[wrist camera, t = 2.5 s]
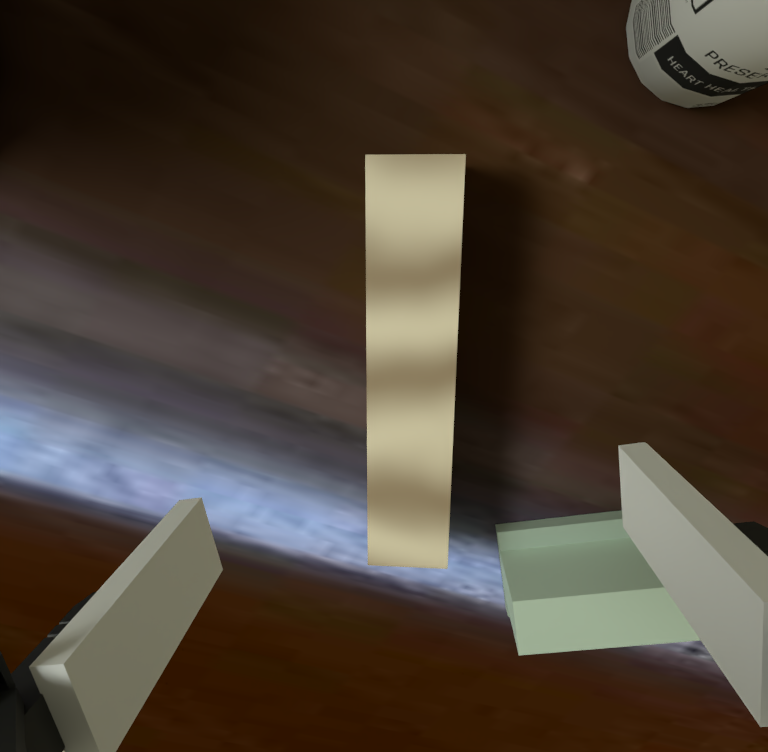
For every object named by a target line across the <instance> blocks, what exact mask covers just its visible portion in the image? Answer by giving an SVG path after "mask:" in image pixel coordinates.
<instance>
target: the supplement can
mask: <svg viewBox="0 0 768 752" xmlns="http://www.w3.org/2000/svg"><path fill="white" fill-rule="evenodd" d="M626 33H627V43H628V52H629V59H630V61H631V63H632V65H633V67H634V69H635V71H636V73H637V75H638V77H639V79H640V81H641V83H642V84H643V85H644V86H646V87H647V88H648V89H649V90H650V91H651V92H653V93H654V94H655V95H656V96H657V97H658V98H659V99H661V100H663V101H666V102H669V103H672V104H675V105H679V106H682V107H685V108H691V107H703V106H714V105H717V104H719V103H722V102H724V101H726V100H729V99H731V98H733V97H736V96H738V95H740V94H743V93H745V92H747V91H750V90H752V89H755V88H757V87H759V86H762V85H764V84H766V83H768V0H632V2H631V7H630V11H629V16H628V21H627V25H626Z"/></svg>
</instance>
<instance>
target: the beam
mask: <svg viewBox="0 0 768 752" xmlns="http://www.w3.org/2000/svg"><path fill="white" fill-rule="evenodd" d="M465 161H466V154H406V155H365V181H366V341H367V501H368V565H377V566H399V567H421V568H442V569H447V566H448V543H449V521H450V498H451V476H452V453H453V431H454V408H455V386H456V363H457V341H458V318H459V296H460V273H461V251H462V228H463V206H464V183H465Z"/></svg>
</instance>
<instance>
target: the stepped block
mask: <svg viewBox="0 0 768 752" xmlns="http://www.w3.org/2000/svg"><path fill="white" fill-rule="evenodd" d="M495 527H496V534H497V542H498V550H499V558H500V566H501V574H502V581H503V589H504V597H505V605H506V610H507V614H508V617H509V616H510V619H511V624H512V628H513V632H514V636H515V641H516V645H517V649H518V653H519V655H529V654H541V653H553V652H565V651H577V650H589V649H601V648H613V647H626V646H638V645H650V644H662V643H674V642H686V641H698V640H700V638H699V637H698V635H697V634H696V633H695V631H694V630H693V628H692V627H691V625H690V624H689V622H688V621H687V619H686V618H685V617H684V615H683V614H682V612H681V611H680V609H679V608H678V606H677V605H676V603H675V602H674V601H673V599H672V598H671V596H670V595H669V593H668V592H667V590H666V589H665V587H664V586H663V585H662V583H661V582H660V580H659V579H658V577H657V576H656V574H655V573H654V571H653V570H652V569H651V567H650V566H649V564H648V563H647V561H646V560H645V558H644V557H643V555H642V554H641V553H640V551H639V550H638V548H637V547H636V545H635V544H634V542H633V541H632V539H631V538H630V536H629V535H628V534H627V532H626V531H625V529H624V528H623V520H622V510H621V511H612V512H603V513H594V514H585V515H576V516H567V517H558V518H549V519H540V520H531V521H522V522H513V523H504V524H495Z"/></svg>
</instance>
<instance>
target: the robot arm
mask: <svg viewBox="0 0 768 752" xmlns="http://www.w3.org/2000/svg"><path fill="white" fill-rule="evenodd" d="M618 447H619V465H620V484H621V502H622V520H623V528H624V529H625V531H626V532H627V534H628V535H629V536H630V538H631V539H632V541H633V542H634V544H635V545H636V547H637V548H638V550H639V551H640V553H641V554H642V555H643V557H644V558H645V560H646V561H647V563H648V564H649V566H650V567H651V569H652V570H653V571H654V573H655V574H656V576H657V577H658V579H659V580H660V582H661V583H662V585H663V586H664V587H665V589H666V590H667V592H668V593H669V595H670V596H671V598H672V599H673V601H674V602H675V603H676V605H677V606H678V608H679V609H680V611H681V612H682V614H683V615H684V617H685V618H686V619H687V621H688V622H689V624H690V625H691V627H692V628H693V630H694V631H695V633H696V634H697V635H698V637H699V638H700V640H701V641H702V643H703V644H704V646H705V647H706V649H707V650H708V651H709V653H710V654H711V656H712V657H713V659H714V660H715V662H716V663H717V665H718V666H719V667H720V669H721V670H722V672H723V673H724V675H725V676H726V678H727V679H728V681H729V682H730V683H731V685H732V686H733V688H734V689H735V691H736V692H737V694H738V695H739V697H740V698H741V700H742V701H743V702H744V704H745V705H746V707H747V708H748V710H749V711H750V713H751V714H752V716H753V717H754V718H755V720H756V721H757V723H758V724H759V726H760V727H767V726H768V528H766V527H764V526H762V525H760V524H758V523H756V522H744V523H735V524H732V523H731V522H730V521H729V520H728V519H727V518H726V517H725V516H724V515H723V514H722V513H721V512H720V511H718V510H717V509H716V508H715V507H714V506H713V505H712V504H711V503H710V502H709V501H708V500H707V499H706V498H705V497H703V496H702V495H701V494H700V493H699V492H698V491H697V490H696V489H695V488H694V487H693V486H692V485H691V484H690V483H688V482H687V481H686V480H685V479H684V478H683V477H682V476H681V475H680V474H679V473H678V472H677V471H676V470H675V469H673V468H672V467H671V466H670V465H669V464H668V463H667V462H666V461H665V460H664V459H663V458H662V457H661V456H660V455H658V454H657V453H656V452H655V451H654V450H653V449H652V448H651V447H650V446H649V445H648V444H647V443H646V442H643V443H635V444H627V445H619V446H618ZM222 570H223V569H222V566H221V562H220V559H219V555H218V552H217V549H216V545H215V542H214V538H213V535H212V532H211V528H210V525H209V521H208V518H207V515H206V511H205V508H204V504H203V501H202V498H194V499H186V500H179V501H178V502H177V504H176V505H175V506H174V507H173V508H172V509H171V510H170V511H169V512H168V514H167V515H166V516H165V517H164V518H163V519H162V520H161V521H160V522H159V524H158V525H157V526H156V527H155V528H154V529H153V530H152V531H151V532H150V533H149V535H148V536H147V537H146V538H145V539H144V540H143V541H142V542H141V543H140V545H139V546H138V547H137V548H136V549H135V550H134V551H133V552H132V553H131V554H130V556H129V557H128V558H127V559H126V560H125V561H124V562H123V563H122V564H121V566H120V567H119V568H118V569H117V570H116V571H115V572H114V573H113V574H112V576H111V577H110V578H109V579H108V580H107V581H106V582H105V583H104V584H103V585H102V587H101V588H100V589H99V590H98V591H97V592H93V593H92V594H91V595H89V596H88V597H86V598H85V599H84V600H82V601H81V602H80V603H78V604H77V605H75V606H74V607H73V608H72V609H71V610H70V611H69V612H68V613H67V615H66V616H65V617H64V618H63V619H62V620H61V621H60V622H59V623H60V624H59V625H56V626H55V627H54V629H53V630H52V631H51V632H50V633H49V634H48V637H47V638H44V639H43V640H42V641H41V643H40V644H39V645H38V646H37V647H36V648H35V649H34V650H33V651H32V652H31V653H30V654H29V655H28V657H27V658H26V659H25V660H24V661H23V662H22V663H21V664H20V665H19V666H18V667H17V668H16V669H15V671H14V672H13V673H12V674H10V672H9V669H8V667H7V665H6V663H5V660H4V658H3V656H2V654H1V652H0V752H62V751H63V750H64V749H65V751H66V752H116V750H117V749H118V747H119V745H120V743H121V742H122V740H123V738H124V737H125V735H126V733H127V732H128V730H129V728H130V726H131V725H132V723H133V721H134V720H135V718H136V716H137V715H138V713H139V711H140V709H141V708H142V706H143V704H144V703H145V701H146V699H147V698H148V696H149V694H150V692H151V691H152V689H153V687H154V686H155V684H156V682H157V681H158V679H159V677H160V675H161V674H162V672H163V670H164V669H165V667H166V665H167V664H168V662H169V660H170V658H171V657H172V655H173V653H174V652H175V650H176V648H177V647H178V645H179V643H180V641H181V640H182V638H183V636H184V635H185V633H186V631H187V630H188V628H189V626H190V625H191V623H192V621H193V619H194V618H195V616H196V614H197V613H198V611H199V609H200V608H201V606H202V604H203V602H204V601H205V599H206V597H207V596H208V594H209V592H210V591H211V589H212V587H213V585H214V584H215V582H216V580H217V579H218V577H219V575H220V574H221V572H222Z"/></svg>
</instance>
